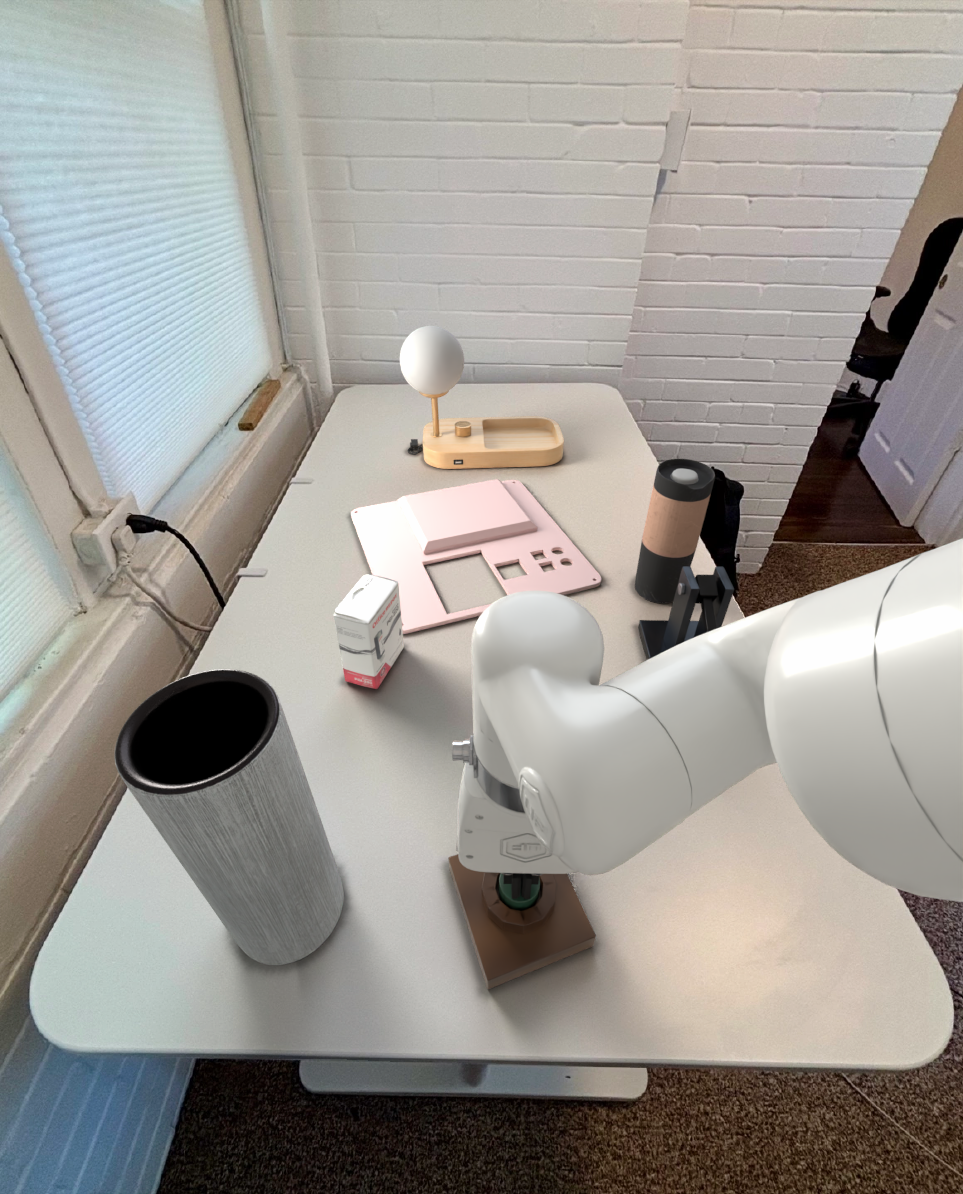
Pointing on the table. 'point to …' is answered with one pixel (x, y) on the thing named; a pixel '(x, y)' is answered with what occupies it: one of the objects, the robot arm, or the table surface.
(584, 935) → the block
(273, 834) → the vase
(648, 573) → the travel mug
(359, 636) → the ink box
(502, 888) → the button
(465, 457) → the lamp
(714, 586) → the lever
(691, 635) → the bracket
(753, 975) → the table surface
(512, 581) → the panel
